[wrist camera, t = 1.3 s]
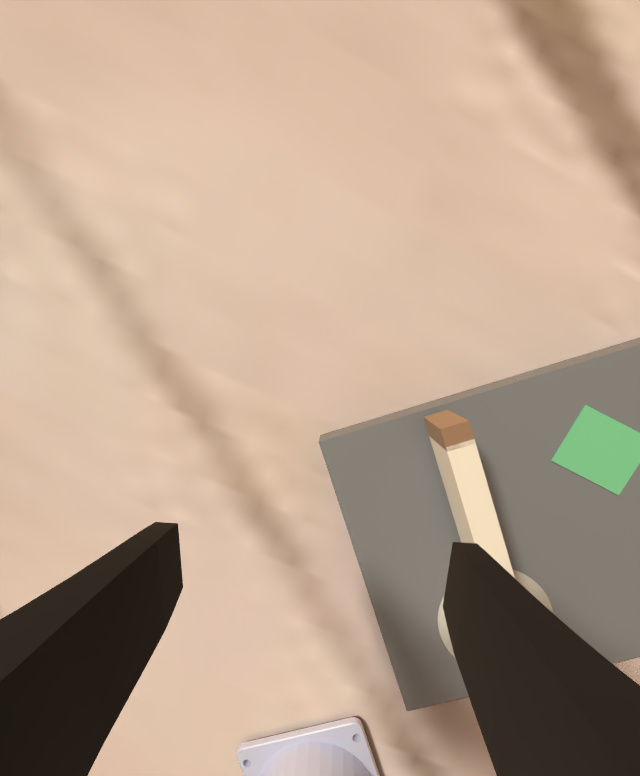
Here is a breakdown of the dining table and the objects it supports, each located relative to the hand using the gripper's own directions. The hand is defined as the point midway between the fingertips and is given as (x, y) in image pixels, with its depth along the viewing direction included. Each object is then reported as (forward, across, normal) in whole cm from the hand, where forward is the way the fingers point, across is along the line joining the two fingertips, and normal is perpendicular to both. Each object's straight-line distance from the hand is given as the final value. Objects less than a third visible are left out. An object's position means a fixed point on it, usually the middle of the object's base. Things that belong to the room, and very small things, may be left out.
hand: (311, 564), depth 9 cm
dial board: (+10, -12, +5) cm, 16 cm away
